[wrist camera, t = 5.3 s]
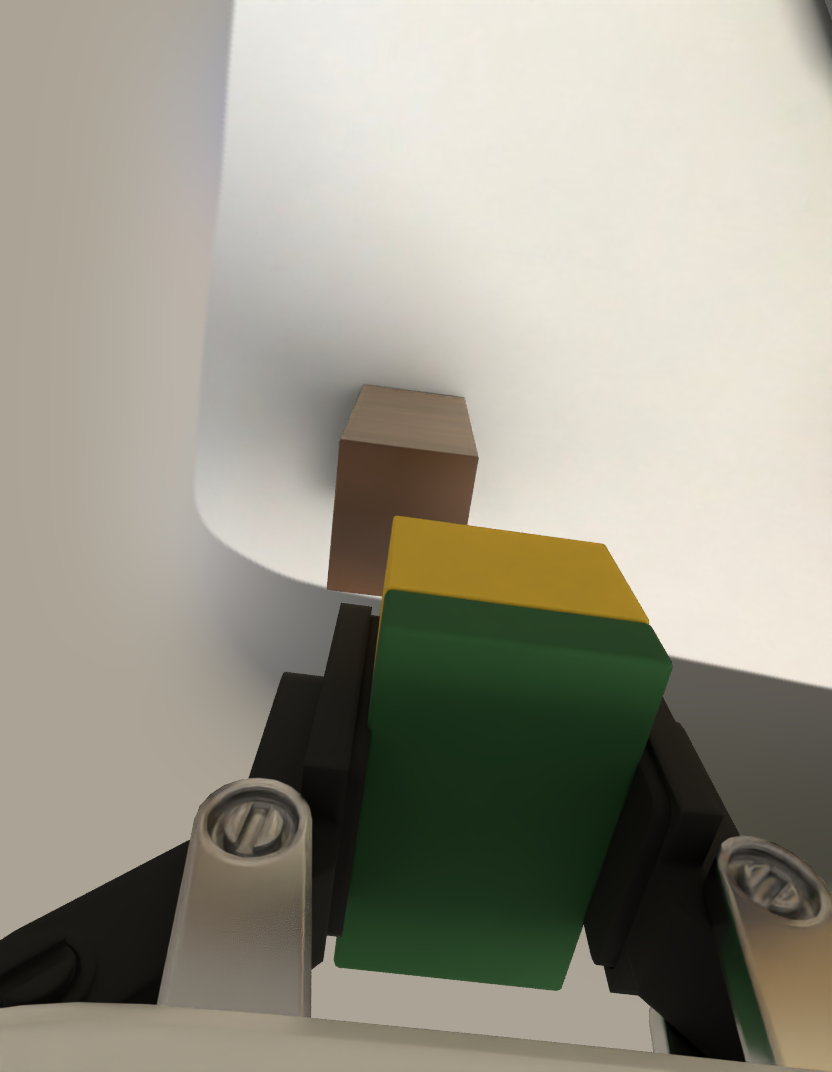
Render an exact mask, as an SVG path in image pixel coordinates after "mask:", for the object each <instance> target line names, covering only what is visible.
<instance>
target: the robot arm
mask: <svg viewBox="0 0 832 1072" xmlns="http://www.w3.org/2000/svg"><path fill="white" fill-rule="evenodd" d="M371 610H372V607H369V606H362V605H354V604H346V603H341V605H340V610H339V614H338V618H337V623H336V627H335V631H334V635H333V640H332V644H331V648H330V653H329V657H328V662H327V666H326V671H325V674H324V677H323V676H315V675H307V674H298V673H291V672H284V673H283V675H282V678H281V680H280V683H279V687H278V690H277V693H276V696H275V699H274V702H273V705H272V708H271V711H270V714H269V717H268V720H267V723H266V726H265V729H264V732H263V736H262V739H261V742H260V745H259V748H258V751H257V754H256V757H255V760H254V763H253V766H252V769H251V773H250V776H249V778H248V779H242V780H238V781H235V782H232V783H229V784H226V785H224V786H222V787H221V788H219V789H218V790H216V791H214V792H213V793H211V794H210V795H209V796H208V797H207V798H206V800H205V801H204V802H203V803H202V804H201V805H200V807H199V809H198V812H197V814H196V817H195V819H194V823H193V828H192V833H191V838H190V840H188V841H186V842H185V843H182V844H180V845H179V846H177V847H175V848H173V849H171V850H169V851H167V852H165V853H163V854H161V855H159V856H157V857H156V858H154V859H152V860H150V861H148V862H146V863H144V864H142V865H140V866H138V867H136V868H134V869H132V870H131V871H129V872H127V873H125V874H123V875H121V876H119V877H117V878H115V879H113V880H111V881H109V882H107V883H106V884H104V885H102V886H100V887H98V888H96V889H94V890H92V891H90V892H88V893H86V894H85V895H83V896H81V897H79V898H77V899H75V900H73V901H71V902H69V903H67V904H65V905H63V906H61V907H60V908H58V909H56V910H54V911H52V912H50V913H48V914H46V915H44V916H42V917H40V918H38V919H36V920H35V921H33V922H31V923H29V924H27V925H25V926H23V927H21V928H19V929H18V930H16V931H14V932H12V933H11V934H9V935H8V936H6V937H5V938H3V939H2V940H0V1072H832V893H831V892H830V890H829V889H828V887H827V885H826V884H825V882H824V881H823V879H822V878H821V877H820V876H819V875H818V874H817V873H816V872H815V871H814V870H813V869H812V867H811V866H810V865H809V864H807V863H806V862H805V861H803V860H802V859H801V858H799V857H798V856H797V855H795V854H794V853H793V852H791V851H789V850H787V849H785V848H783V847H781V846H780V845H778V844H776V843H773V842H770V841H767V840H764V839H761V838H758V837H750V836H740V835H739V833H738V831H737V829H736V827H735V825H734V823H733V821H732V819H731V818H730V816H729V814H728V812H727V810H726V808H725V806H724V804H723V802H722V800H721V798H720V797H719V795H718V793H717V791H716V789H715V787H714V785H713V783H712V781H711V779H710V777H709V775H708V774H707V772H706V770H705V768H704V766H703V764H702V762H701V760H700V758H699V756H698V754H697V753H696V751H695V749H694V747H693V745H692V743H691V741H690V739H689V737H688V735H687V733H686V732H685V730H684V728H683V727H682V726H681V724H680V723H678V722H676V721H675V720H674V718H673V716H672V714H671V712H670V710H669V708H668V706H667V704H666V702H665V700H664V698H663V697H662V700H661V703H660V706H659V709H658V711H657V714H656V717H655V720H654V723H653V726H652V729H651V732H650V735H649V737H648V740H647V743H646V746H645V749H644V752H643V755H642V758H641V760H640V762H639V764H638V767H637V769H636V772H635V775H634V778H633V781H632V784H631V787H630V790H629V792H628V795H627V798H626V801H625V804H624V807H623V810H622V813H621V816H620V818H619V821H618V824H617V827H616V830H615V833H614V836H613V839H612V842H611V844H610V847H609V850H608V853H607V856H606V859H605V862H604V865H603V868H602V870H601V873H600V876H599V879H598V882H597V885H596V888H595V891H594V893H593V896H592V899H591V902H590V905H589V908H588V911H587V914H586V917H585V919H584V922H583V923H584V927H585V932H586V936H587V941H588V945H589V949H590V954H591V957H592V960H593V962H594V964H596V965H602V966H604V969H605V974H606V977H607V982H608V986H609V990H610V992H611V993H620V994H629V995H638V996H639V997H641V998H642V999H643V1000H644V1001H645V1002H646V1003H647V1004H648V1005H650V1009H649V1026H650V1033H651V1039H652V1046H653V1053H652V1052H643V1051H634V1050H625V1049H615V1048H605V1047H595V1046H586V1045H576V1044H567V1043H557V1042H548V1041H538V1040H528V1039H519V1038H509V1037H499V1036H489V1035H479V1034H470V1033H459V1032H448V1031H439V1030H429V1029H418V1028H408V1027H398V1026H388V1025H378V1024H367V1023H358V1022H347V1021H336V1020H327V1019H317V1018H311V970H312V969H313V968H314V967H316V966H317V965H318V964H320V963H321V962H322V961H323V958H324V951H325V944H326V937H327V936H336V937H342V933H343V926H344V920H345V913H346V906H347V899H348V892H349V885H350V879H351V872H352V865H353V858H354V851H355V844H356V837H357V831H358V824H359V817H360V810H361V803H362V796H363V789H364V782H365V775H366V767H367V758H368V750H369V741H370V732H371V730H370V729H369V728H368V726H367V721H368V713H369V704H370V696H371V688H372V679H373V671H374V662H375V654H376V645H377V637H378V629H379V620H380V616H374V615H371Z"/></svg>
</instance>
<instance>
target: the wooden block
mask: <svg viewBox="0 0 832 1072" xmlns="http://www.w3.org/2000/svg"><path fill="white" fill-rule="evenodd" d="M478 459H479V458H478V453H477V449H476V445H475V440H474V436H473V432H472V427H471V423H470V419H469V415H468V410H467V406H466V402H465V398H463V397H455V396H448V395H440V394H433V393H425V392H418V391H410V390H402V389H395V388H387V387H380V386H372V385H363V388H362V390H361V392H360V395H359V397H358V399H357V401H356V404H355V406H354V408H353V411H352V413H351V415H350V418H349V420H348V422H347V425H346V427H345V429H344V431H343V434H342V436H341V438H340V443H339V454H338V466H337V477H336V489H335V500H334V512H333V523H332V535H331V546H330V558H329V570H328V581H327V590H333V591H341V592H350V593H358V594H366V595H375V596H382V595H383V588H384V581H385V574H386V567H387V559H388V552H389V545H390V538H391V531H392V524H393V518H394V516H403V517H411V518H418V519H425V520H432V521H440V522H447V523H454V524H462V525H467V523H468V517H469V511H470V505H471V500H472V494H473V488H474V482H475V476H476V470H477V464H478Z"/></svg>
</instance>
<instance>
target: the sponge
mask: <svg viewBox="0 0 832 1072" xmlns="http://www.w3.org/2000/svg"><path fill="white" fill-rule="evenodd" d="M671 671H672V661H671V660H670V658H669V656H668V654H667V653H666V651H665V649H664V647H663V646H662V644H661V642H660V641H659V639H658V637H657V635H656V634H655V632H654V630H653V628H652V627H651V626H650V625H649V619H648V617H647V616H646V614H645V612H644V611H643V609H642V607H641V605H640V604H639V602H638V600H637V599H636V597H635V595H634V593H633V592H632V590H631V588H630V587H629V585H628V583H627V582H626V580H625V578H624V576H623V575H622V573H621V571H620V570H619V568H618V566H617V564H616V563H615V561H614V559H613V558H612V556H611V554H610V552H609V551H608V549H607V547H606V546H605V545H604V544H600V543H593V542H586V541H578V540H571V539H564V538H556V537H549V536H542V535H535V534H527V533H520V532H513V531H505V530H498V529H491V528H484V527H476V526H469V525H462V524H454V523H447V522H440V521H432V520H425V519H418V518H411V517H403V516H394V518H393V524H392V531H391V538H390V545H389V552H388V559H387V567H386V574H385V581H384V588H383V595H382V603H381V609H380V620H379V629H378V637H377V645H376V654H375V662H374V671H373V679H372V688H371V696H370V704H369V713H368V721H367V726H368V728H369V729H370V730H371V732H370V741H369V750H368V758H367V767H366V775H365V782H364V789H363V796H362V803H361V810H360V817H359V824H358V831H357V837H356V844H355V851H354V858H353V865H352V872H351V879H350V885H349V892H348V899H347V906H346V913H345V920H344V926H343V933H342V937H337V939H336V946H335V955H334V962H335V965H336V966H337V967H339V968H348V969H357V970H367V971H376V972H385V973H395V974H405V975H413V976H423V977H433V978H442V979H451V980H460V981H471V982H479V983H489V984H498V985H507V986H517V987H526V988H535V989H545V990H554V991H557V990H560V989H561V988H562V985H563V982H564V979H565V976H566V974H567V971H568V968H569V965H570V962H571V959H572V956H573V953H574V950H575V948H576V945H577V942H578V939H579V936H580V933H581V930H582V927H583V925H584V923H583V922H584V919H585V917H586V914H587V911H588V908H589V905H590V902H591V899H592V896H593V893H594V891H595V888H596V885H597V882H598V879H599V876H600V873H601V870H602V868H603V865H604V862H605V859H606V856H607V853H608V850H609V847H610V844H611V842H612V839H613V836H614V833H615V830H616V827H617V824H618V821H619V818H620V816H621V813H622V810H623V807H624V804H625V801H626V798H627V795H628V792H629V790H630V787H631V784H632V781H633V778H634V775H635V772H636V769H637V767H638V764H639V762H640V760H641V758H642V755H643V752H644V749H645V746H646V743H647V740H648V737H649V735H650V732H651V729H652V726H653V723H654V720H655V717H656V714H657V711H658V709H659V706H660V703H661V700H662V697H663V694H664V691H665V688H666V686H667V682H668V680H669V677H670V674H671Z"/></svg>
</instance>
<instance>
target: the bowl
mask: <svg viewBox="0 0 832 1072" xmlns="http://www.w3.org/2000/svg"><path fill="white" fill-rule="evenodd" d="M825 2H826V5H827V8H828V11H829V14H830V17H831V20H832V0H825Z"/></svg>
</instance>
